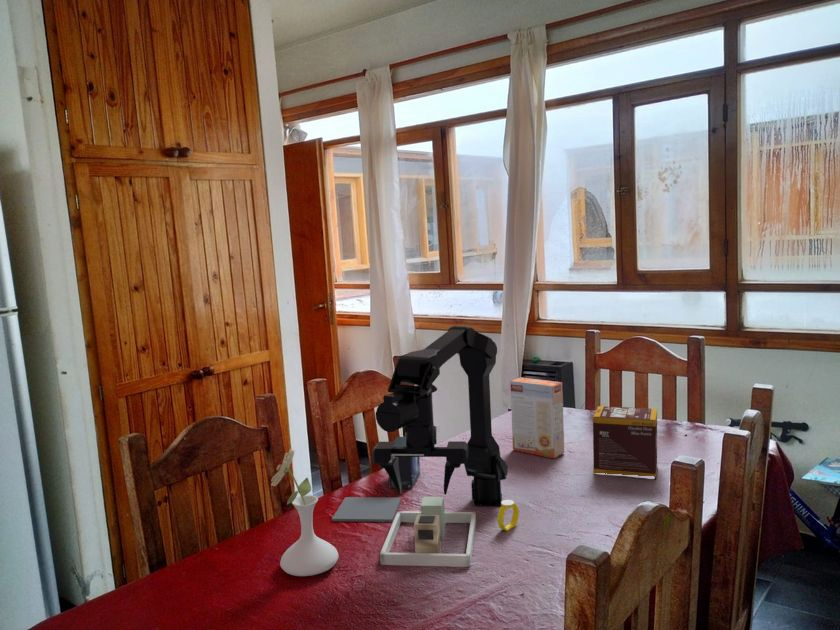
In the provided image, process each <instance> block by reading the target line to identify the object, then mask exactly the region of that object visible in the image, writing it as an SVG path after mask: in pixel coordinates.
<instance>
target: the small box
mask: <svg viewBox="0 0 840 630" xmlns="http://www.w3.org/2000/svg"><path fill="white" fill-rule="evenodd" d="M392 442H396V447H406V438H405V437H403V436H396V437H395V439H394V440H393V441H392ZM420 458H421V457H398V466H399V472H400V479H401V489H409V490H410V489H413V487H414V486H415V484H416V482H417V480H418V479H419V476H420V475H421V465H420V460H421V459H420ZM388 488H389V489H396V487H395V485H394V483H393V481H392V480H391V478H390V476H389V475H388Z"/></svg>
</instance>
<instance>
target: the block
mask: <svg viewBox="0 0 840 630" xmlns="http://www.w3.org/2000/svg"><path fill="white" fill-rule="evenodd" d="M445 509H446V508H445V497H444V496H422V500H421V503H420V511H421V515H439V522H440V538H444V535H445V532H446V523H445V512H446V511H445Z"/></svg>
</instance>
